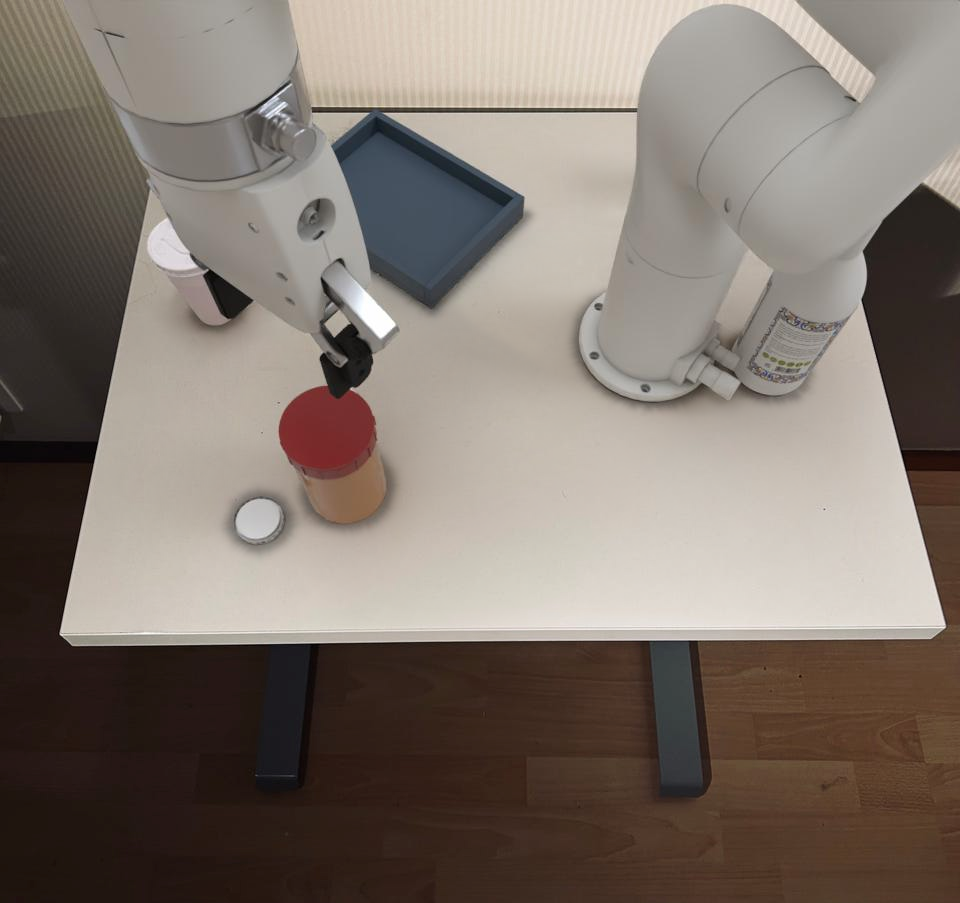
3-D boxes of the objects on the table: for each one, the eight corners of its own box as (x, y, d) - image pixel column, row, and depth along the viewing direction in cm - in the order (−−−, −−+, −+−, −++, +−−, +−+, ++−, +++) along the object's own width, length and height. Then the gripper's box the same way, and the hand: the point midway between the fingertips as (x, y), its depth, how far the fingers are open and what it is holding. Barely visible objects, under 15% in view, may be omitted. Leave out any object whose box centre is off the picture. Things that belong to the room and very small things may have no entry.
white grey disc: (260, 553, 65) (258, 551, 64) (225, 525, 66) (223, 523, 65) (294, 517, 66) (292, 514, 66) (259, 490, 67) (257, 487, 67)
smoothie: (238, 343, 74) (191, 240, 61) (172, 331, 74) (112, 226, 62) (260, 288, 77) (219, 179, 64) (197, 277, 77) (144, 166, 65)
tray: (523, 216, 81) (524, 196, 78) (431, 308, 76) (430, 290, 73) (377, 129, 86) (375, 108, 84) (282, 210, 81) (276, 190, 78)
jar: (402, 481, 68) (391, 422, 58) (350, 539, 66) (329, 487, 56) (344, 438, 70) (325, 374, 60) (291, 493, 67) (262, 435, 58)
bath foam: (817, 390, 72) (932, 240, 54) (745, 404, 72) (837, 257, 54) (787, 328, 75) (887, 167, 57) (718, 341, 75) (797, 182, 57)
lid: (396, 431, 60) (394, 419, 58) (333, 498, 57) (329, 487, 56) (327, 381, 61) (323, 368, 60) (263, 444, 59) (258, 433, 57)
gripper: (439, 141, 31) (449, 375, 47) (139, -35, 36) (239, 232, 51) (306, 260, 29) (363, 466, 44) (0, 53, 33) (150, 306, 49)
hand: (296, 339), depth 48 cm, fingers open, 8 cm apart
